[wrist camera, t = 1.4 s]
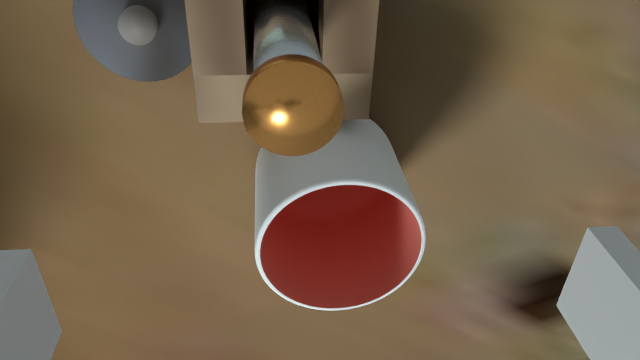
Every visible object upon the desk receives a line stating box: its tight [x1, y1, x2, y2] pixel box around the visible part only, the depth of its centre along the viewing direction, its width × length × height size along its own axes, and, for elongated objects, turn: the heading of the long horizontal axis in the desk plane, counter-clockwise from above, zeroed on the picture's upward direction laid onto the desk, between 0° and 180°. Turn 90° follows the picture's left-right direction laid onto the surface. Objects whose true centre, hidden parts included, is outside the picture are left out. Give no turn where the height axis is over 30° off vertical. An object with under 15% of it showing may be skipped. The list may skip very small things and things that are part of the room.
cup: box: [255, 119, 426, 310], centre depth 34 cm, size 10×10×10 cm
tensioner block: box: [73, 0, 379, 123], centre depth 30 cm, size 16×10×5 cm, turn 88°
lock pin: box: [242, 0, 344, 156], centre depth 26 cm, size 4×4×14 cm
